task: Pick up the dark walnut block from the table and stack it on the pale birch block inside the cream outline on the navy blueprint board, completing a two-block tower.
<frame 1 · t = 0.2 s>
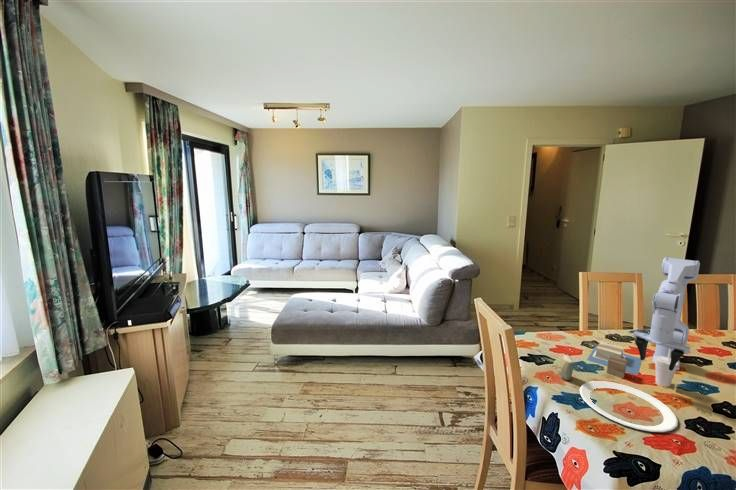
hand: (656, 364, 109), 10 cm above the table, tool pointing down, fingers open, 7 cm apart
walnut block: (615, 374, 121), on the table
blueprint board: (614, 360, 130), on the table
birch block: (609, 356, 132), point 1 cm above the table, touching blueprint board
white flat ring: (624, 406, 103), on the table
grey small block: (565, 378, 119), on the table
smoothie: (662, 385, 114), on the table
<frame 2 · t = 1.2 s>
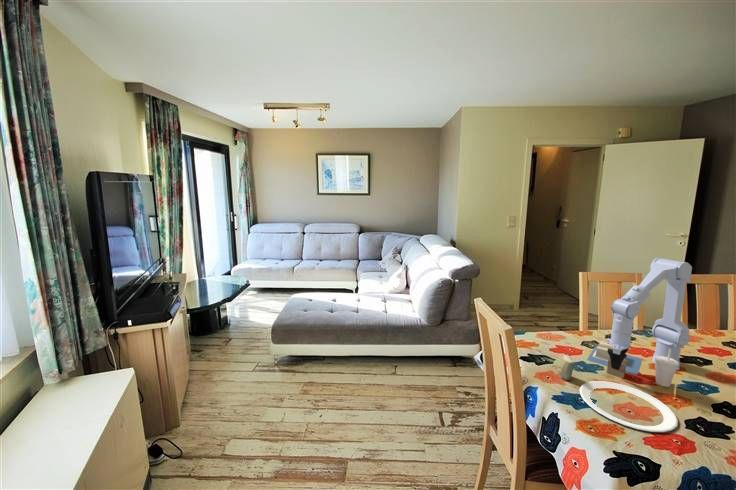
hand: (616, 364, 120), 4 cm above the table, tool pointing down, fingers open, 7 cm apart
nothing on the table moved.
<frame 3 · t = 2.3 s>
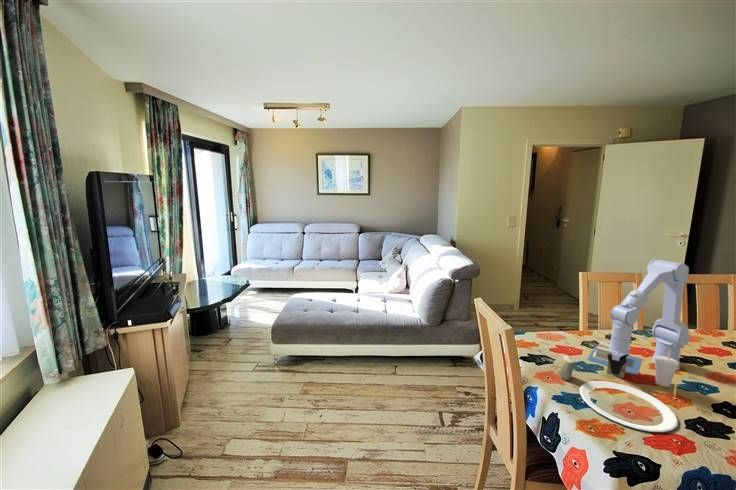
hand: (616, 370, 120), 1 cm above the table, tool pointing down, fingers closed on walnut block, 5 cm apart
walnut block: (615, 374, 121), on the table, touching gripper
everything else where it was.
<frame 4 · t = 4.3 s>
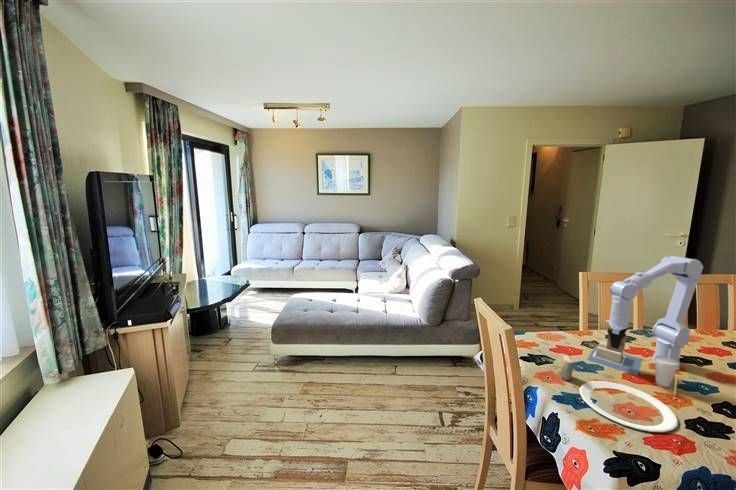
hand: (615, 345, 124), 9 cm above the table, tool pointing down, fingers closed on walnut block, 5 cm apart
walnut block: (615, 348, 124), point 8 cm above the table, touching gripper
everything else where it was.
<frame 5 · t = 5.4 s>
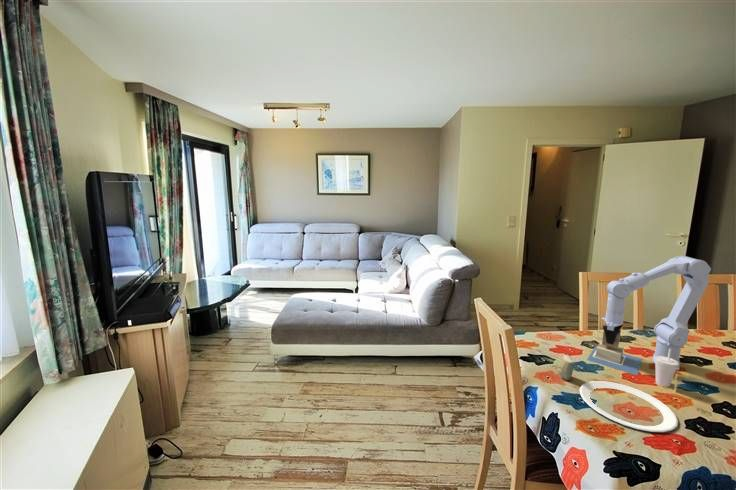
hand: (611, 341, 131), 7 cm above the table, tool pointing down, fingers closed on walnut block, 5 cm apart
walnut block: (610, 344, 132), point 6 cm above the table, touching gripper
everything else where it was.
when the fingers open (7 cm above the table, at t = 6.1 s): walnut block drops 1 cm, resting on birch block.
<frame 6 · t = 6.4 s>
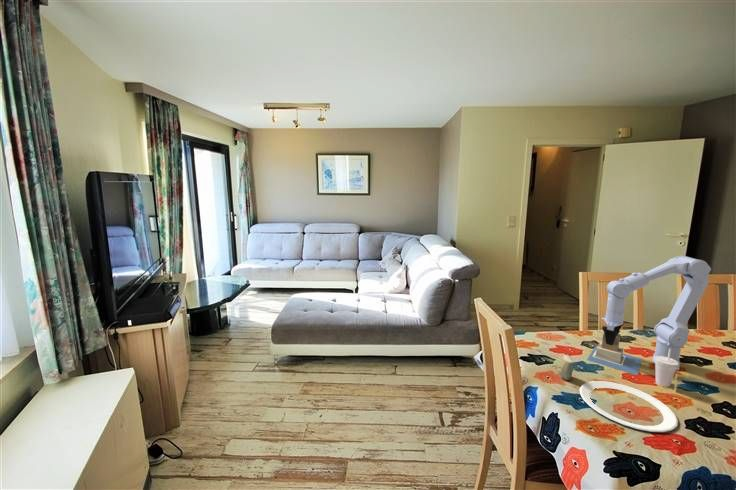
hand: (611, 341, 131), 8 cm above the table, tool pointing down, fingers open, 7 cm apart
walnut block: (609, 347, 132), point 5 cm above the table, touching birch block
birch block: (609, 356, 132), point 1 cm above the table, touching blueprint board, walnut block
everything else where it was.
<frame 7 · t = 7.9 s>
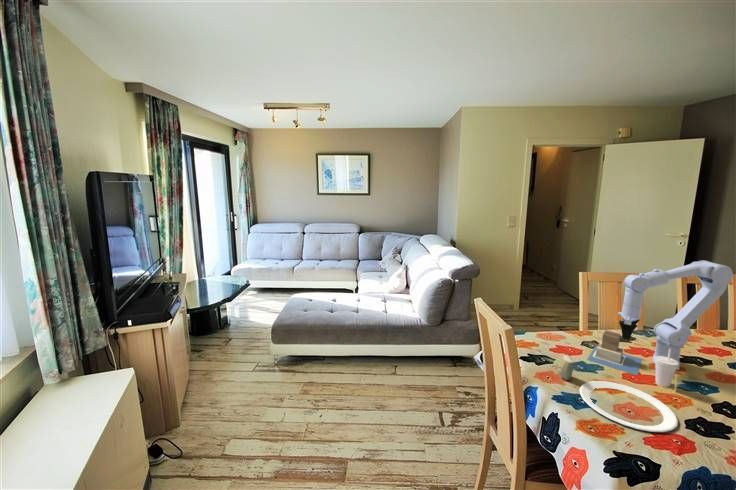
hand: (627, 336, 129), 10 cm above the table, tool pointing down, fingers open, 7 cm apart
nothing on the table moved.
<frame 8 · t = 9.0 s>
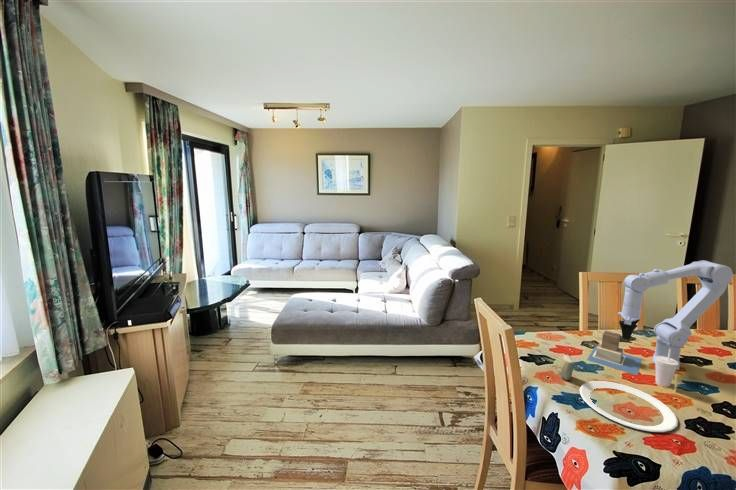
hand: (627, 336, 129), 10 cm above the table, tool pointing down, fingers open, 7 cm apart
nothing on the table moved.
at the end: walnut block 0.1 cm off-centre on the birch block, point 4.0 cm above the birch block's base; walnut block tilted 0°; birch block moved 0.0 cm from its start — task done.
